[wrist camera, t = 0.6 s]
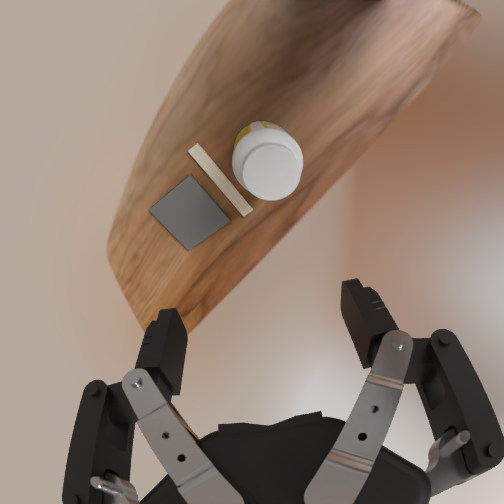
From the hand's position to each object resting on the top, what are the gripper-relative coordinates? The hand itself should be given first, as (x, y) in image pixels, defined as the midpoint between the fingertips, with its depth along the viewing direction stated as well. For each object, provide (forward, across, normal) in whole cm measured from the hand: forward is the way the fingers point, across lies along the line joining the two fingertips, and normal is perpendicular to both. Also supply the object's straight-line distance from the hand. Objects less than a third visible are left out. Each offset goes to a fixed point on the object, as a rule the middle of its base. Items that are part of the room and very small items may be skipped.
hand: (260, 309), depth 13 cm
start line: (+23, +3, 0) cm, 23 cm away
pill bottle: (+23, -3, -4) cm, 24 cm away
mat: (+24, +8, +3) cm, 25 cm away
